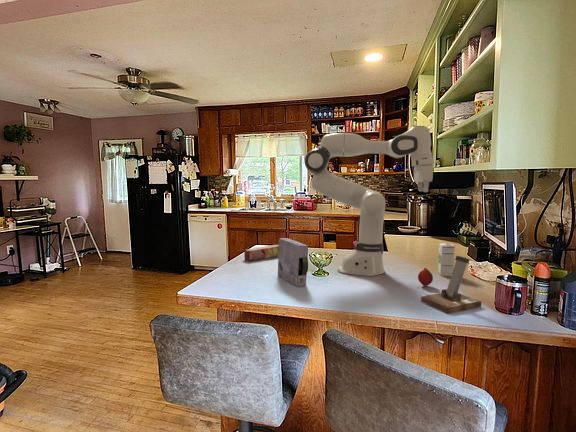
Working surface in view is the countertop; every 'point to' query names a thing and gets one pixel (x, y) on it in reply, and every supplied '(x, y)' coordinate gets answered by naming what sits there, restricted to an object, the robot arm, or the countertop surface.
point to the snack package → (261, 252)
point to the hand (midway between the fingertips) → (423, 191)
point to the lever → (456, 276)
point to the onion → (425, 277)
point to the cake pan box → (293, 261)
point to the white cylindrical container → (446, 259)
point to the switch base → (450, 302)
